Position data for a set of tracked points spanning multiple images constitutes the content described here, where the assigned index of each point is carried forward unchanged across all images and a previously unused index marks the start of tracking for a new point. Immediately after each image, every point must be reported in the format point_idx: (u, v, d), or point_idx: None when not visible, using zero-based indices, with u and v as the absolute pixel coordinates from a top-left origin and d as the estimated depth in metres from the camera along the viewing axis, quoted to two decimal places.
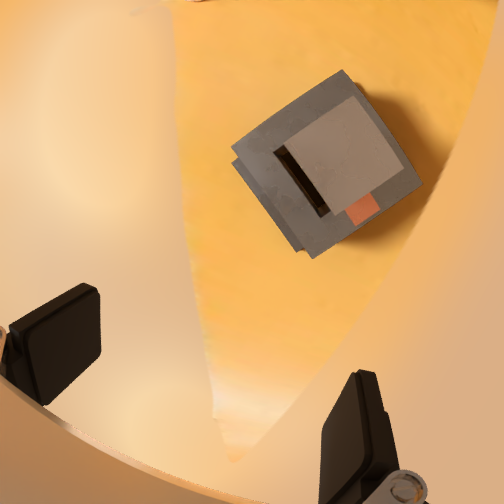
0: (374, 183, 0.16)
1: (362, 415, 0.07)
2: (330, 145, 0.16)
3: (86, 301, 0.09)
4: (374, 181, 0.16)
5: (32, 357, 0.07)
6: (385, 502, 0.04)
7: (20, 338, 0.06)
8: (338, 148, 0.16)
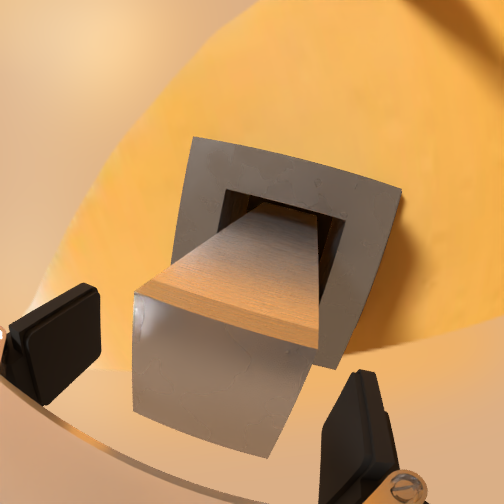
0: (211, 438, 0.09)
1: (362, 415, 0.07)
2: (197, 365, 0.08)
3: (86, 301, 0.09)
4: (213, 437, 0.09)
5: (32, 357, 0.07)
6: (385, 502, 0.04)
7: (20, 338, 0.06)
8: (204, 377, 0.08)
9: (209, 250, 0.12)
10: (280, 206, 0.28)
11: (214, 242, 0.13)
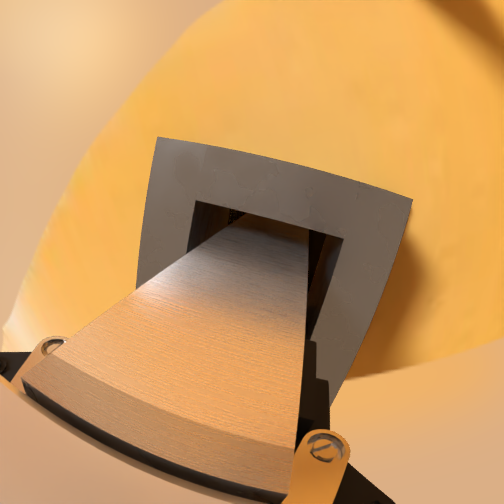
0: None
1: None
2: None
3: None
4: None
5: None
6: (308, 465, 0.05)
7: None
8: None
9: (152, 294, 0.09)
10: None
11: (164, 278, 0.10)
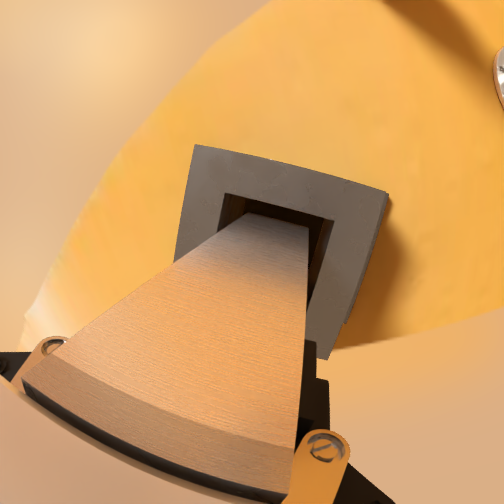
0: None
1: None
2: None
3: None
4: None
5: None
6: (308, 465, 0.05)
7: None
8: None
9: (152, 294, 0.09)
10: (266, 217, 0.24)
11: (164, 279, 0.10)
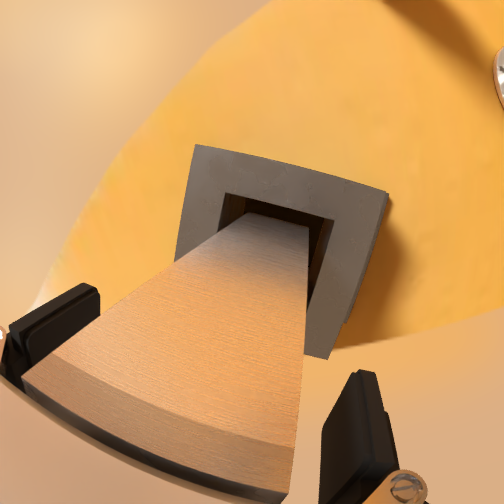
0: None
1: (362, 415, 0.07)
2: None
3: (86, 301, 0.09)
4: None
5: (32, 357, 0.07)
6: (385, 502, 0.04)
7: (20, 338, 0.06)
8: None
9: (153, 293, 0.09)
10: (266, 217, 0.24)
11: (165, 278, 0.10)
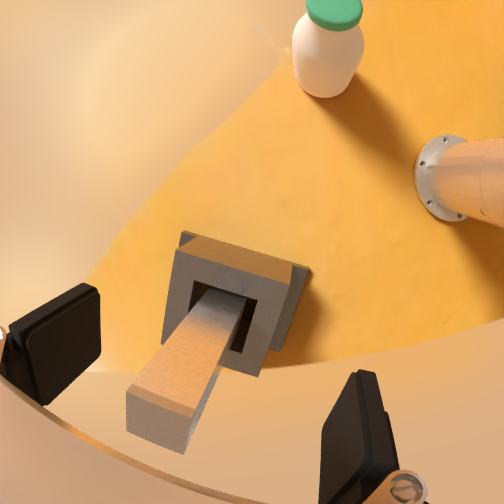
0: (159, 443, 0.20)
1: (362, 415, 0.07)
2: (151, 416, 0.19)
3: (86, 301, 0.09)
4: (160, 443, 0.20)
5: (32, 357, 0.07)
6: (385, 502, 0.04)
7: (20, 338, 0.06)
8: (154, 421, 0.19)
9: (158, 359, 0.23)
10: (220, 290, 0.39)
11: (162, 351, 0.25)
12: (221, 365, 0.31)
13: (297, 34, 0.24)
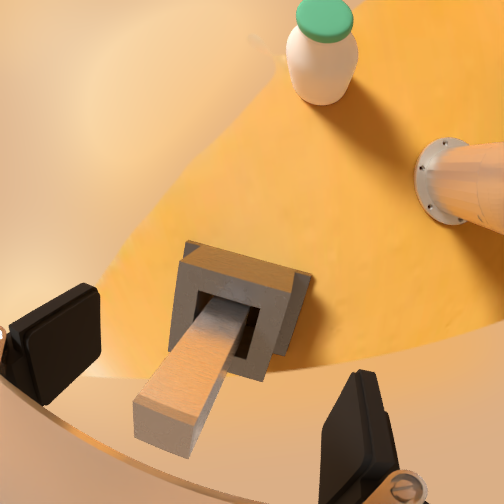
0: (165, 449, 0.21)
1: (362, 415, 0.07)
2: (156, 424, 0.20)
3: (86, 301, 0.09)
4: (166, 449, 0.21)
5: (32, 357, 0.07)
6: (385, 502, 0.04)
7: (20, 338, 0.06)
8: (159, 428, 0.20)
9: (163, 370, 0.24)
10: (224, 299, 0.40)
11: (167, 362, 0.26)
12: (225, 372, 0.32)
13: (290, 45, 0.24)
